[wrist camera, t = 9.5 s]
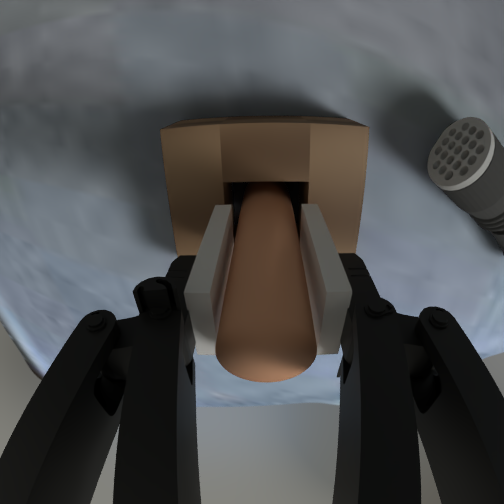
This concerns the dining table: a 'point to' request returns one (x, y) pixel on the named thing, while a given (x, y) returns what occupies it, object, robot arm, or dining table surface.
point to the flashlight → (472, 172)
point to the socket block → (265, 169)
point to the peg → (266, 292)
